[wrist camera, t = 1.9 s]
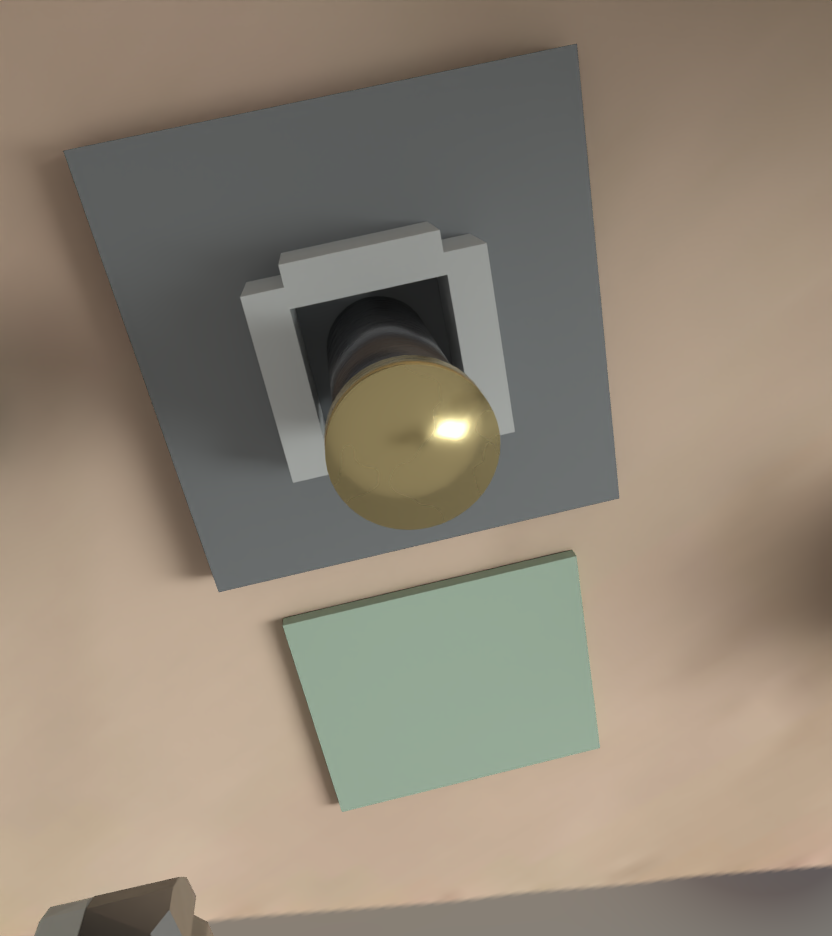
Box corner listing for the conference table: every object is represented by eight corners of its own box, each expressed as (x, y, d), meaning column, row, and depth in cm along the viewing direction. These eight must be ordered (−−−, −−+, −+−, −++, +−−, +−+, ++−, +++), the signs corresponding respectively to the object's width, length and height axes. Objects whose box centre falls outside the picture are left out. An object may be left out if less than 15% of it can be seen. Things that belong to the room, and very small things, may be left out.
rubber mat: (572, 549, 37) (576, 556, 36) (596, 739, 42) (599, 747, 41) (283, 618, 36) (282, 625, 36) (341, 802, 41) (342, 812, 40)
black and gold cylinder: (424, 276, 29) (486, 347, 19) (445, 389, 31) (511, 508, 21) (306, 302, 29) (305, 387, 19) (334, 415, 31) (347, 546, 21)
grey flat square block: (563, 48, 28) (607, 32, 24) (607, 484, 36) (646, 529, 31) (75, 150, 27) (34, 152, 23) (222, 574, 35) (210, 632, 31)
